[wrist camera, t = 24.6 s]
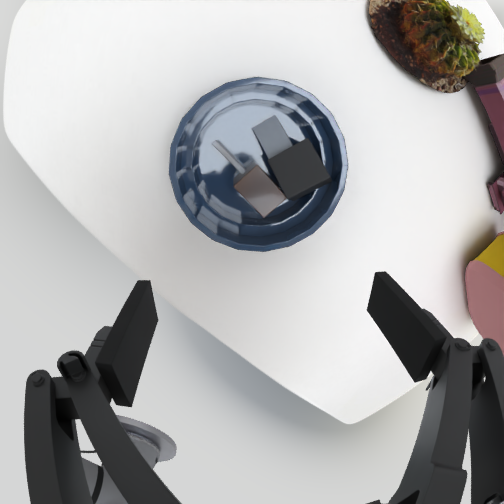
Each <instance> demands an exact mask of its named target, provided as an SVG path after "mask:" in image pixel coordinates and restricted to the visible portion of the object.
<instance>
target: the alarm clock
mask: <svg viewBox="0 0 504 504" xmlns="http://www.w3.org/2000/svg"><path fill="white" fill-rule="evenodd" d="M465 283H466V291H467V300H468V308H469V313H470V316H471V319H472V321H473V323H474V325H475V327H476V329H477V330H478V332H479V333H480V335H481V336H482V337H483V339H484V338H490V339H493V340H495V341H496V342H497V343H498V344H499V346H500V348H501V350H502V353H503V355H504V231H503V232H500V233H498V235H497V237H496V238H495V240H494V241H493V242H492V243H491V244H490V245H489V246H488V247H487V248H486V249H485V250H484V251H483V252H482V253H481V254H480V255H479V256H477V257H476V258H475V259H474V260H473V261H470V262H469V264H468V265H467V268H466V274H465Z"/></svg>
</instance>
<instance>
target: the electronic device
mask: <svg viewBox="0 0 504 504" xmlns="http://www.w3.org/2000/svg"><path fill="white" fill-rule="evenodd" d="M474 66H475V68H474V69H473V71H471V72H470V74H467V75H465V76H464V78H465V79H466V80H467V81H470V82H471V83H472V85H473V86H474V88H475V90H476V92H477V94H478V95H479V97H480V99H481V101H482V103H483V105H484V107H485V110H486V112H487V114H488V116H489V118H490V120H491V123H490V124H489V128H490V131H491V133H492V135H493V138H494V140H495V143H496V146H497V148H498V151H499V154H500V156H501V159H502V162H503V165H504V54H501V55H497V56H493V57H490V58H486V59H483V60H480V62H478V66H477V65H474ZM475 69H476V70H475ZM487 185H488V188H489V192H490V195H491V198H492V201H493V204H494V209H495V210H497V211H500V214H502V213H503V211H504V172H503V173H502V174H501V175H500V176H499V177H498V178H497V179H496V181H495V182H494V183H490V182H489V183H488V184H487Z"/></svg>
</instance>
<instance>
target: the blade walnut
mask: <svg viewBox="0 0 504 504" xmlns="http://www.w3.org/2000/svg"><path fill="white" fill-rule="evenodd" d="M212 145H213V146H214V147H215V148H216V149H217V150H218V151H219V152H220V153H221V154H222V155H223V156H224V157H225V158H226V159H227V160H228V161H229V162H230V163H231V164H232V165H233V166H234V167H235V168H236V169H237V170H238V171H239V172H240V173H239V174H238V175H237V176H236V177H235V178H234V182H233V187H234V188H235V189H236V190H237V191H238V192H239V193H240V194H241V195H242V196H243V197H244V198H245V199H246V200H247V201H248V202H249V203H250V204H251V205H252V206H253V208H254V209H255V210H256V211H257V212H258V213H259V214H260V215H261V216H262V217H263V218H265V217H266V216H267V215H268V214H270V213H271V212H272V211H273V210H274V209H275V208H276V207H277V206H279V205H280V204H281V203H282V202H283V201H284V200H285V199H287V198H286V196H285V194H284V193H283V191H282V190H281V189H280V188H279V187H278V186H277V185H276V183H275V182H274V181H273V180H272V179H271V178H270V177H269V176H268V175H267V174H266V173H265V172H264V170H263V169H262V168H261V167H260V166H259V165H258V164H257V163H256V162H255V161H253V162H251V163H250V164H249V165H248V166H247V167H246V168H245V167H244V166H243V165H242V164H241V163H240V162H239V161H238V160H237V159H236V158H235V157H234V156H233V155H232V154H231V153H230V152H229V151H228V150H227V149H226V148H225V147H224V146H223V145H222V144H221V143H220V142H219V141H218V140H215V141H214V142H213V143H212Z"/></svg>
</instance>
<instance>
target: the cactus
mask: <svg viewBox="0 0 504 504" xmlns="http://www.w3.org/2000/svg"><path fill="white" fill-rule="evenodd" d="M369 14H370V17H371V19H372V21H371V22H372V26H371V27H372V28H373V29H375V35H376V37H377V38H378V39H379V40H380V41H381V43H382V44H383V45H384V46H385V47H386V49H387V50H388V52H389V53H390V54H391V55H392V56H393V57H394V59H395V60H396V61H397V62H398V63H399V64H400V65H401V66H402V67H404V68H405V69H406V70H407V71H408V72H410V73H411V74H413V75H415V76H416V77H417V78H418V79H419V80H420V81H421V82H423V83H425V84H427V85H428V86H430V87H432V88H434V89H436V90H440V91H441V92H444V93H453V92H458V91H460V90H461V89H463V88H465V87H464V86H465V85H466V84H467V82H468V81H467V80H466V79H465V78H464V76H465V75H467V74H470V72H471V71H473V69H474V68H475V66H474V65H477V66H478V62H480V60H479V57H478V55H479V53H480V52H481V51H480V49H479V48H478V45H479V43H483V41H482V39H484V36H483V35H482V34H485V33H484V32H483V31H484V29H483V28H482V27H481V26H480V25H481V23H480V22H478V20H477V18H476V16H475V15H474V14H472V13H471V14H469V11H468V10H467V9H466V8H464V9H463V8H462V7H460V6H458V4H457V8H456V7H454V6H451V5H450V4H449V3H448V1H447V2H446V1H445V0H370V4H369ZM475 42H478V44H476V43H475ZM481 59H482V58H481ZM475 70H476V69H475Z"/></svg>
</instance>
